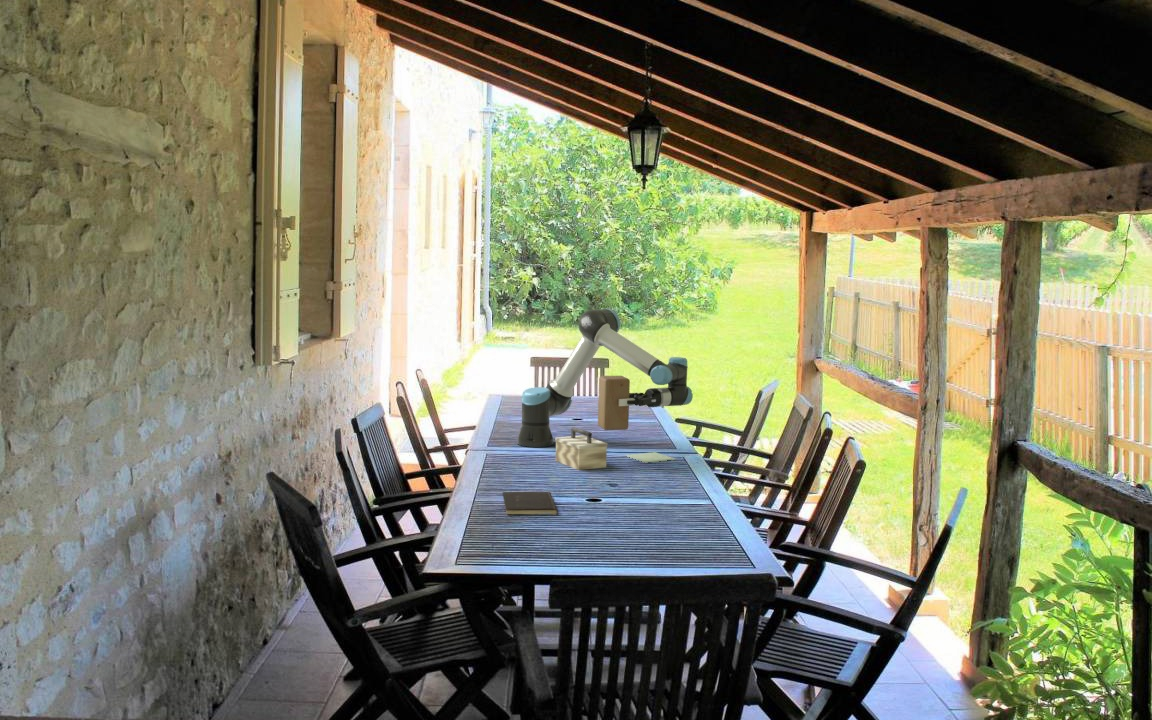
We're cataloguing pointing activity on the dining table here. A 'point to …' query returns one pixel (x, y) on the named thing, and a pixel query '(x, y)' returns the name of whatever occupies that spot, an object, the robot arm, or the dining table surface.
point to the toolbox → (581, 451)
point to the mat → (650, 457)
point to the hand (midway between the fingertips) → (610, 400)
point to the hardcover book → (529, 503)
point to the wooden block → (613, 402)
